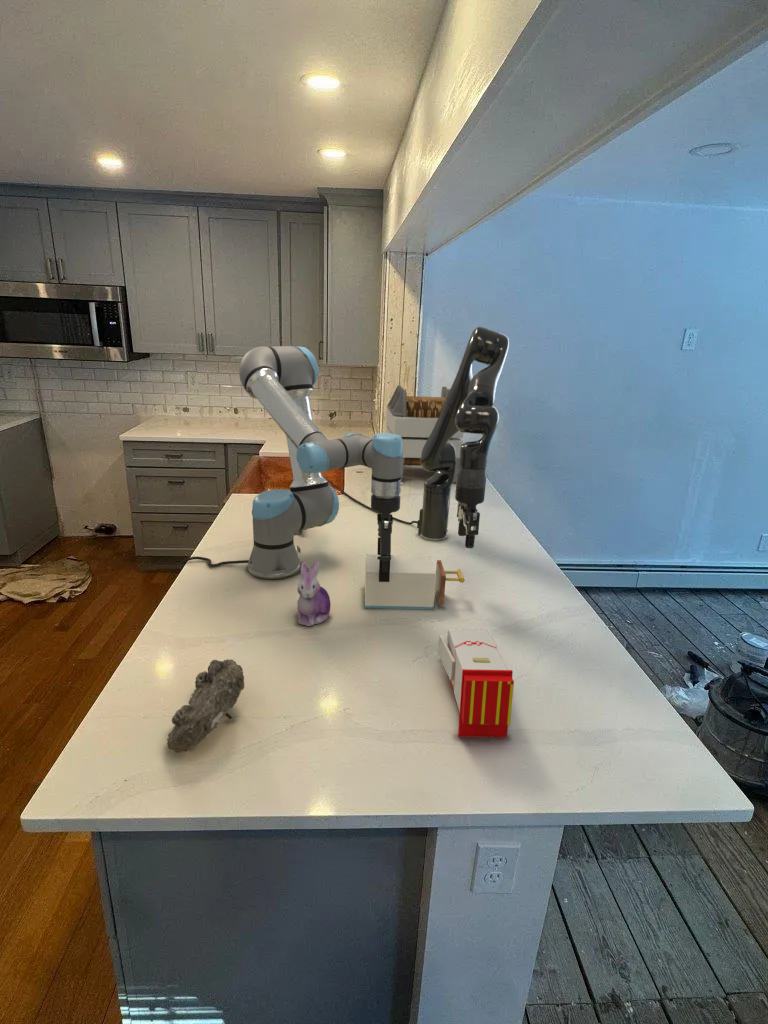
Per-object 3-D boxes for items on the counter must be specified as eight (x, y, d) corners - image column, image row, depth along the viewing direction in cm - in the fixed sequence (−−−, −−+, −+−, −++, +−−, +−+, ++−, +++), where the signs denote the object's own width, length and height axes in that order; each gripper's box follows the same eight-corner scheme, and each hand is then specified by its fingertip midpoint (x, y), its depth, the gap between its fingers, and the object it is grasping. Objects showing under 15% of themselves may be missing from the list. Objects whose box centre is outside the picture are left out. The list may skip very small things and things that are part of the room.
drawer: (458, 588, 160) (460, 560, 157) (464, 605, 151) (467, 576, 148) (378, 586, 159) (379, 558, 156) (379, 604, 150) (381, 574, 147)
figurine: (302, 631, 137) (302, 575, 132) (289, 611, 146) (288, 558, 141) (338, 623, 142) (339, 568, 137) (323, 604, 150) (323, 552, 145)
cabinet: (428, 590, 161) (431, 555, 157) (433, 609, 151) (436, 573, 147) (364, 588, 160) (365, 554, 156) (364, 608, 150) (366, 571, 146)
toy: (488, 613, 130) (523, 677, 101) (484, 667, 133) (517, 744, 104) (435, 612, 130) (455, 676, 101) (432, 666, 133) (451, 743, 103)
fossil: (192, 660, 117) (244, 628, 112) (224, 691, 120) (276, 661, 115) (142, 746, 98) (202, 712, 93) (182, 779, 101) (242, 748, 96)
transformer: (382, 463, 289) (386, 382, 275) (445, 464, 293) (451, 384, 279) (390, 482, 257) (394, 392, 243) (460, 483, 261) (468, 394, 247)
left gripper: (404, 510, 133) (400, 591, 140) (397, 481, 157) (394, 551, 164) (372, 510, 133) (369, 591, 140) (370, 480, 156) (368, 551, 164)
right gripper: (492, 491, 140) (486, 552, 145) (478, 475, 153) (472, 531, 158) (462, 491, 139) (457, 552, 144) (451, 475, 152) (446, 531, 158)
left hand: (383, 570), depth 152 cm, fingers open, 13 cm apart
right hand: (465, 541), depth 151 cm, fingers open, 8 cm apart
